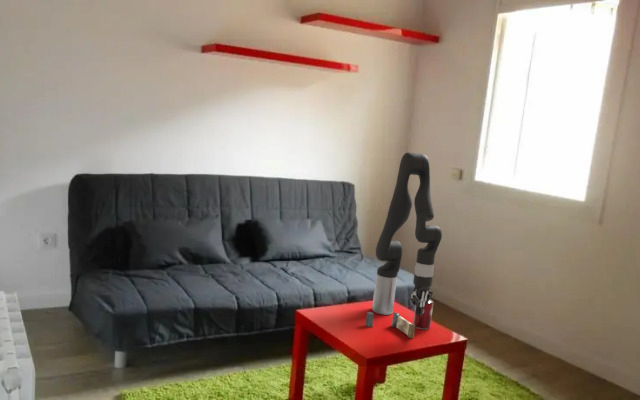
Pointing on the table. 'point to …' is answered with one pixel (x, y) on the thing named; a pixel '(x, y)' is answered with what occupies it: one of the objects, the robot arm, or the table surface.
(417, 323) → the soda can
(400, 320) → the gate
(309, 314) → the table surface
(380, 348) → the table surface
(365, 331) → the table surface
